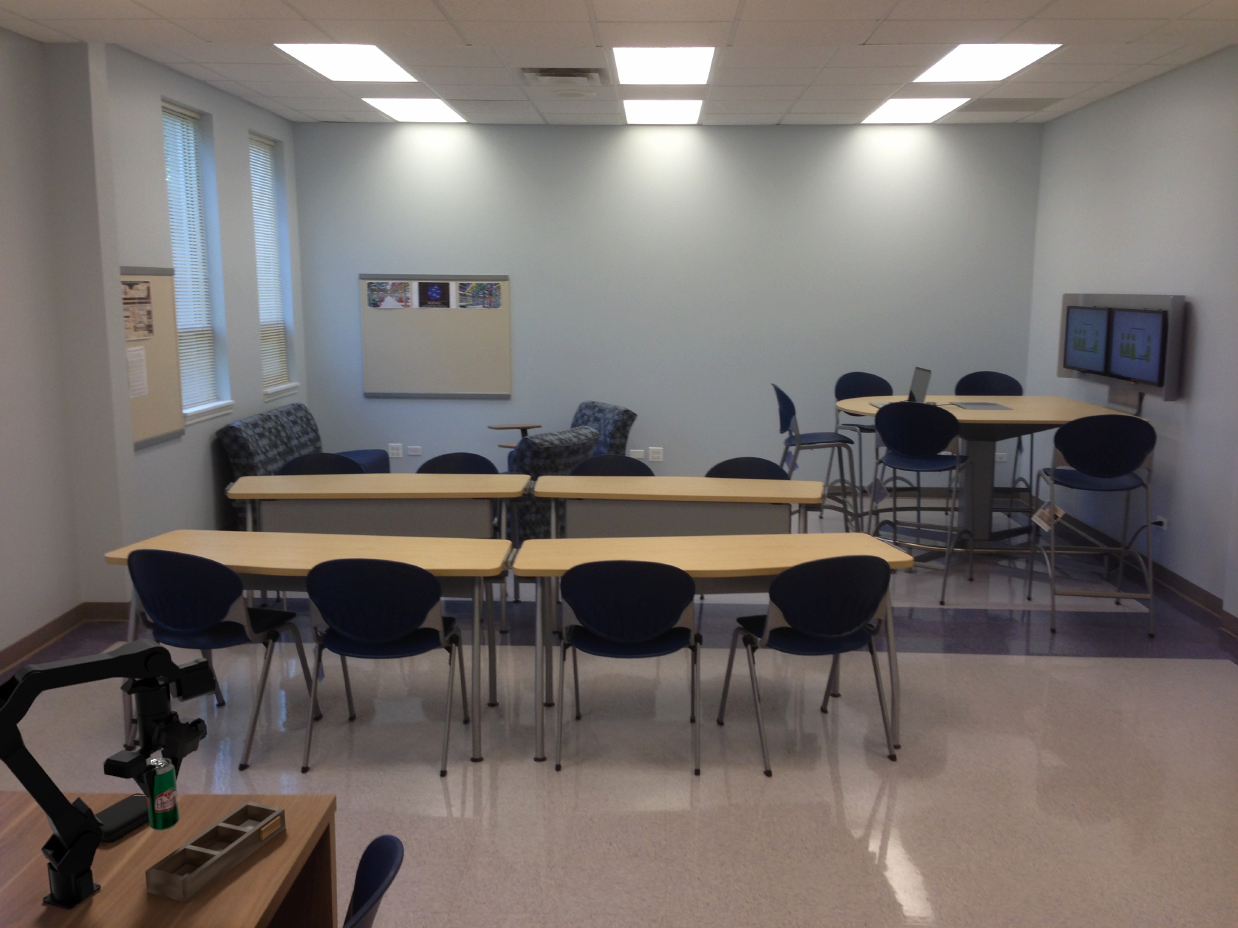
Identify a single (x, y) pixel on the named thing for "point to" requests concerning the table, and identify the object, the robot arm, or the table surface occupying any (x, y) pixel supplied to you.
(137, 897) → the table surface
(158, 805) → the soda can
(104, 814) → the carrying case or bag
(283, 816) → the can rack
